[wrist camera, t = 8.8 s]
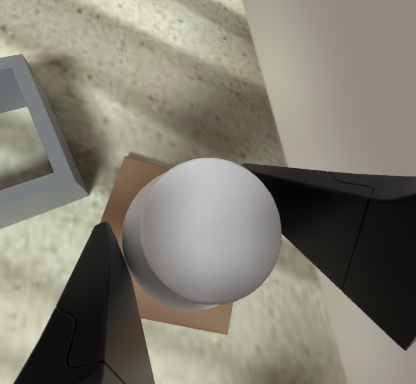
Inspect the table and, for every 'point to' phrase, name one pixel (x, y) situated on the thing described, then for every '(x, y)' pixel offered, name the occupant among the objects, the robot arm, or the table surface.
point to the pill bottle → (201, 235)
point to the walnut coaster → (115, 214)
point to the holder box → (52, 141)
